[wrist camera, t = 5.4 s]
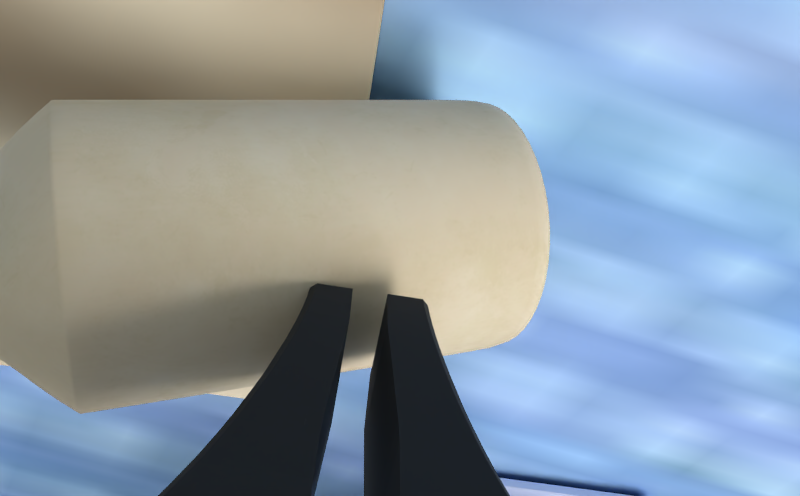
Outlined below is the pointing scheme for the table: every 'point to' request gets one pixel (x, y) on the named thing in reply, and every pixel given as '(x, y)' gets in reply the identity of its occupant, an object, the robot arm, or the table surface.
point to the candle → (254, 235)
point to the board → (183, 54)
